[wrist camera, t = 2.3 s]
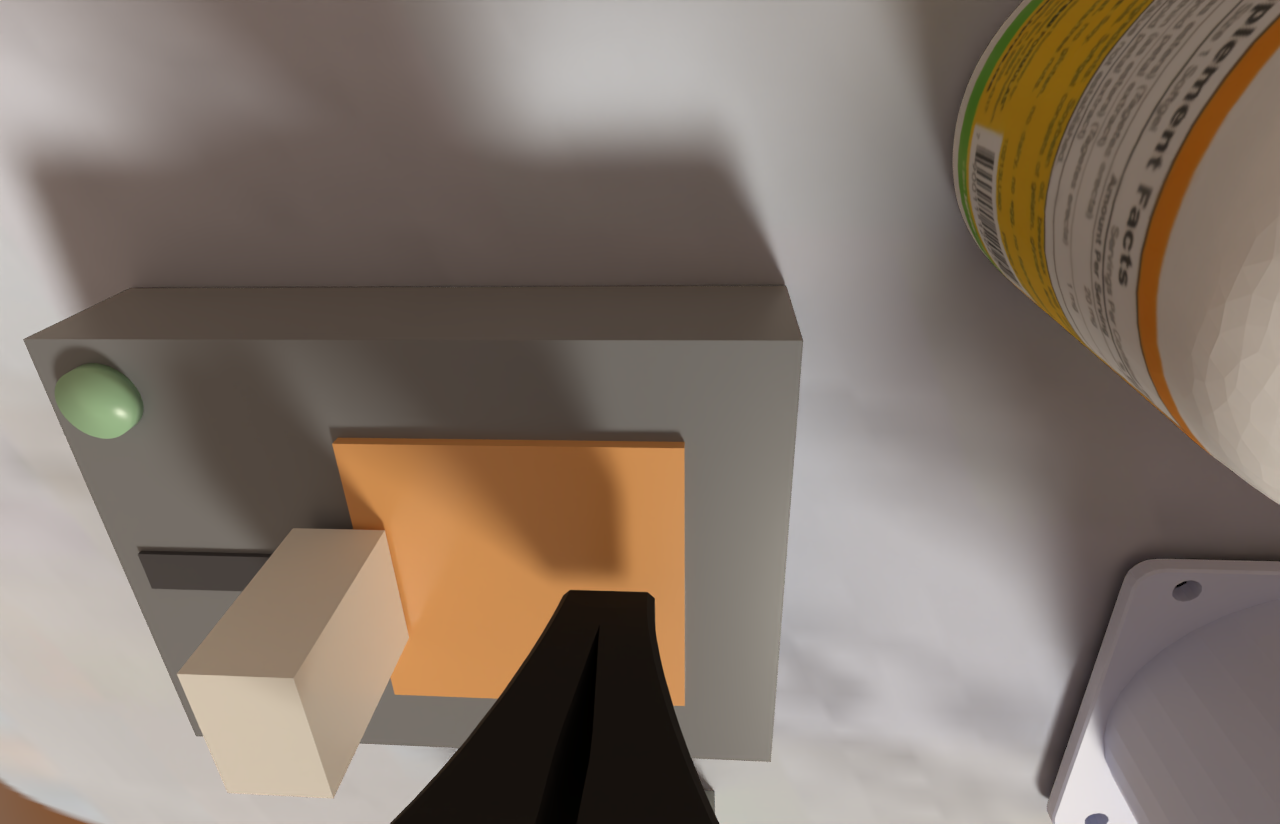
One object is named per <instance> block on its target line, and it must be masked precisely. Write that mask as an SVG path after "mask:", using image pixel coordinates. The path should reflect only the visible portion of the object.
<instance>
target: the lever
mask: <svg viewBox="0 0 1280 824" xmlns="http://www.w3.org/2000/svg"><path fill="white" fill-rule="evenodd" d="M408 639H409V635H408V630H407V626H406V621H405V617H404V613H403V608H402V604H401V599H400V595H399V590H398V586H397V582H396V577H395V573H394V568H393V564H392V560H391V555H390V551H389V546H388V542H387V537H386V533H385V530H353V529H308V528H293V529H292V530H291V531H290V532H289V534H288V535H287V536H286V537H285V539H284V540H283V541H282V542H281V544H280V545H279V546H278V547H277V549H276V550H275V551H274V552H273V554H272V555H271V556H270V558H269V559H268V560H267V561H266V563H265V564H264V565H263V566H262V568H261V569H260V570H259V571H258V573H257V574H256V575H255V576H254V578H253V579H252V580H251V581H250V583H249V584H248V585H247V586H246V588H245V589H244V590H243V591H242V593H241V594H240V595H239V596H238V598H237V599H236V600H235V601H234V603H233V604H232V605H231V606H230V608H229V609H228V610H227V611H226V613H225V614H224V615H223V616H222V618H221V619H220V620H219V621H218V623H217V624H216V625H215V627H214V628H213V629H212V630H211V632H210V633H209V634H208V635H207V637H206V638H205V639H204V640H203V642H202V643H201V644H200V645H199V647H198V648H197V649H196V650H195V652H194V653H193V654H192V655H191V657H190V658H189V659H188V660H187V662H186V663H185V664H184V665H183V667H182V668H181V669H180V670H179V672H178V673H177V676H178V678H179V680H180V683H181V685H182V687H183V690H184V692H185V694H186V697H187V699H188V701H189V704H190V706H191V708H192V711H193V713H194V715H195V718H196V720H197V722H198V725H199V727H200V729H201V732H202V734H203V736H204V739H205V741H206V743H207V746H208V748H209V750H210V753H211V755H212V757H213V760H214V762H215V764H216V767H217V769H218V771H219V774H220V776H221V778H222V781H223V783H224V785H225V788H226V790H227V792H228V793H237V794H257V795H277V796H297V797H316V798H334V796H335V794H336V792H337V790H338V788H339V785H340V783H341V781H342V779H343V777H344V775H345V773H346V771H347V768H348V766H349V764H350V762H351V760H352V758H353V756H354V754H355V751H356V749H357V747H358V745H359V743H360V741H361V739H362V737H363V734H364V732H365V730H366V728H367V726H368V724H369V722H370V720H371V717H372V715H373V713H374V711H375V709H376V707H377V705H378V703H379V701H380V698H381V696H382V694H383V692H384V690H385V688H386V686H387V684H388V681H389V679H390V677H391V675H392V673H393V671H394V669H395V667H396V664H397V662H398V660H399V658H400V656H401V654H402V652H403V650H404V647H405V645H406V643H407V641H408Z"/></svg>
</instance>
